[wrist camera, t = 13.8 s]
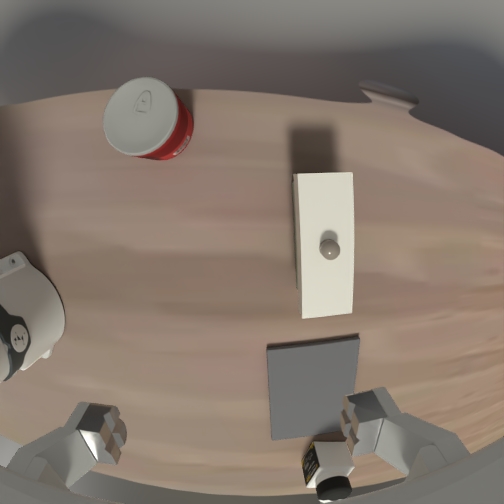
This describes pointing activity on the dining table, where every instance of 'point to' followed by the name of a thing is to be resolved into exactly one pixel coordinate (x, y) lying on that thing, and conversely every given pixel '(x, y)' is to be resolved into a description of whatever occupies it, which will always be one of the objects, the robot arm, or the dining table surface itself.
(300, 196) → the lid
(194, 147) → the dining table surface
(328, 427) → the mat
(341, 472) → the medicine bottle
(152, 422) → the dining table surface
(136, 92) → the canned food
